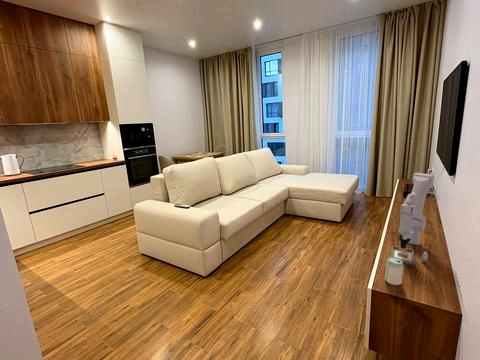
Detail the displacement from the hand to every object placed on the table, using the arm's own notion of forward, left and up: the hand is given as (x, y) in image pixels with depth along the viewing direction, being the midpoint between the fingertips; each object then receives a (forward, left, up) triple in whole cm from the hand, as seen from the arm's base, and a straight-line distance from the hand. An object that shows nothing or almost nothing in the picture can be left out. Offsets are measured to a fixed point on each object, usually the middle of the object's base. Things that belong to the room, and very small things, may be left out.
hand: (402, 245), depth 150 cm
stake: (+7, +10, -4) cm, 13 cm away
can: (+33, -4, -5) cm, 34 cm away
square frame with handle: (+5, 0, -4) cm, 6 cm away
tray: (+5, 0, -4) cm, 7 cm away
